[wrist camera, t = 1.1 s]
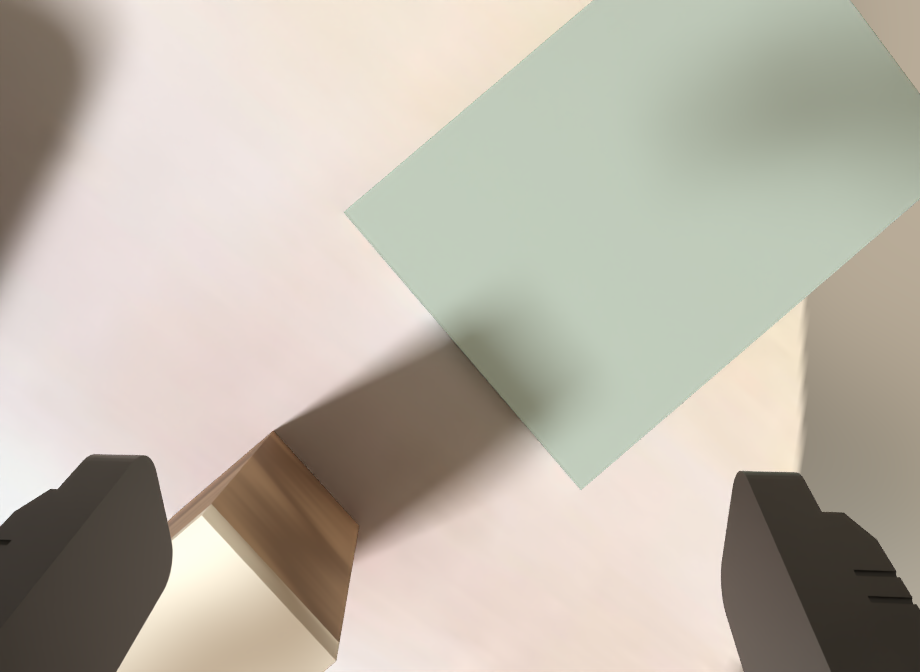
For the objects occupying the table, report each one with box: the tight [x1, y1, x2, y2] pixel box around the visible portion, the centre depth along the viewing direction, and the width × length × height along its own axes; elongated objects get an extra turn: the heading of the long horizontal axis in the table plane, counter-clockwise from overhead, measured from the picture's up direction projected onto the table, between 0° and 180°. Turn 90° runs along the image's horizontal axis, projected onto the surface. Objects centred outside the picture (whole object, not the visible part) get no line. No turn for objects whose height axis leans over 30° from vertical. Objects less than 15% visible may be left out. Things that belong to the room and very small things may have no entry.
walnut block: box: [117, 431, 359, 672], centre depth 25 cm, size 5×5×11 cm
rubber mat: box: [344, 0, 920, 490], centre depth 30 cm, size 14×20×1 cm
